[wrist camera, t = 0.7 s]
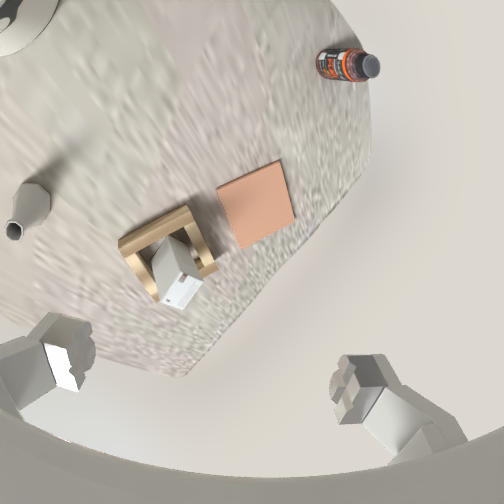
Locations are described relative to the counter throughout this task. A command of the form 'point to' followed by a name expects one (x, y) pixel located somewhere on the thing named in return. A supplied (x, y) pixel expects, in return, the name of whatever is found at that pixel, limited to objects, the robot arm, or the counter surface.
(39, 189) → the flask
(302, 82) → the counter surface
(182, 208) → the light wooden square frame
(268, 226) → the terracotta tile
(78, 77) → the counter surface
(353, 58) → the supplement bottle
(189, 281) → the skincare box
